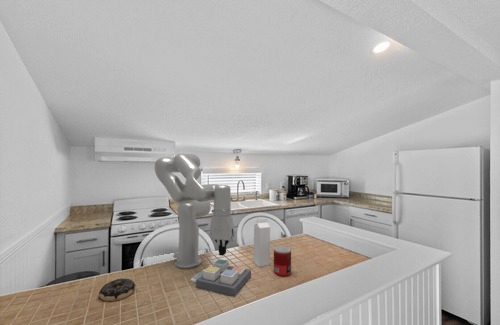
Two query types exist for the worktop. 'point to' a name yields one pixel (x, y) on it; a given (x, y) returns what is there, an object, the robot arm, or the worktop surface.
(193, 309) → the worktop surface
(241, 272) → the key terracotta
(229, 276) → the key slate
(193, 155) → the robot arm
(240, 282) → the keypad
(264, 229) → the milk
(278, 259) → the canned food
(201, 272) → the strip
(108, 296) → the donut
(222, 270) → the key teal
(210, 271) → the key mustard
